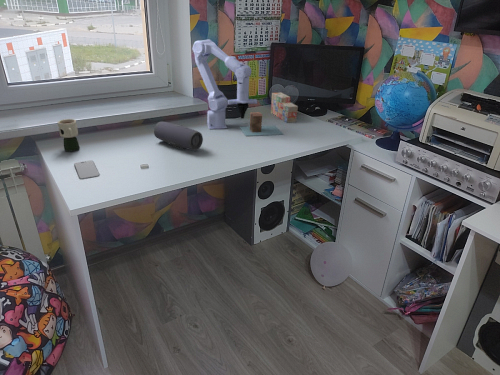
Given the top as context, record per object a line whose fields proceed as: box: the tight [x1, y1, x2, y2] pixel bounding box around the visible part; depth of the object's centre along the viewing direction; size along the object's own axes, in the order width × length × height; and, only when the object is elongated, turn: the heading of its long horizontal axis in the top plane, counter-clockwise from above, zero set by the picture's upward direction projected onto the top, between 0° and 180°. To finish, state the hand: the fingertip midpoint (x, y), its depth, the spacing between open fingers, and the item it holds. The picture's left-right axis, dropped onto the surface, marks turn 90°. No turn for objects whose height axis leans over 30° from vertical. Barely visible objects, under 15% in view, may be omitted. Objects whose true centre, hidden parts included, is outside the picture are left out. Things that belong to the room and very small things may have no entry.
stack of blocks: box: [270, 91, 299, 124], centre depth 219 cm, size 21×6×12 cm, turn 23°
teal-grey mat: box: [239, 124, 284, 137], centre depth 198 cm, size 20×14×1 cm
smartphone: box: [73, 160, 101, 180], centre depth 147 cm, size 7×1×15 cm
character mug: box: [57, 118, 81, 152], centre depth 162 cm, size 11×7×13 cm, turn 33°
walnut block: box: [249, 111, 263, 132], centre depth 195 cm, size 5×5×9 cm
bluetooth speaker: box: [153, 121, 204, 151], centre depth 172 cm, size 23×9×10 cm, turn 56°
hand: (242, 117), depth 192 cm, fingers closed
